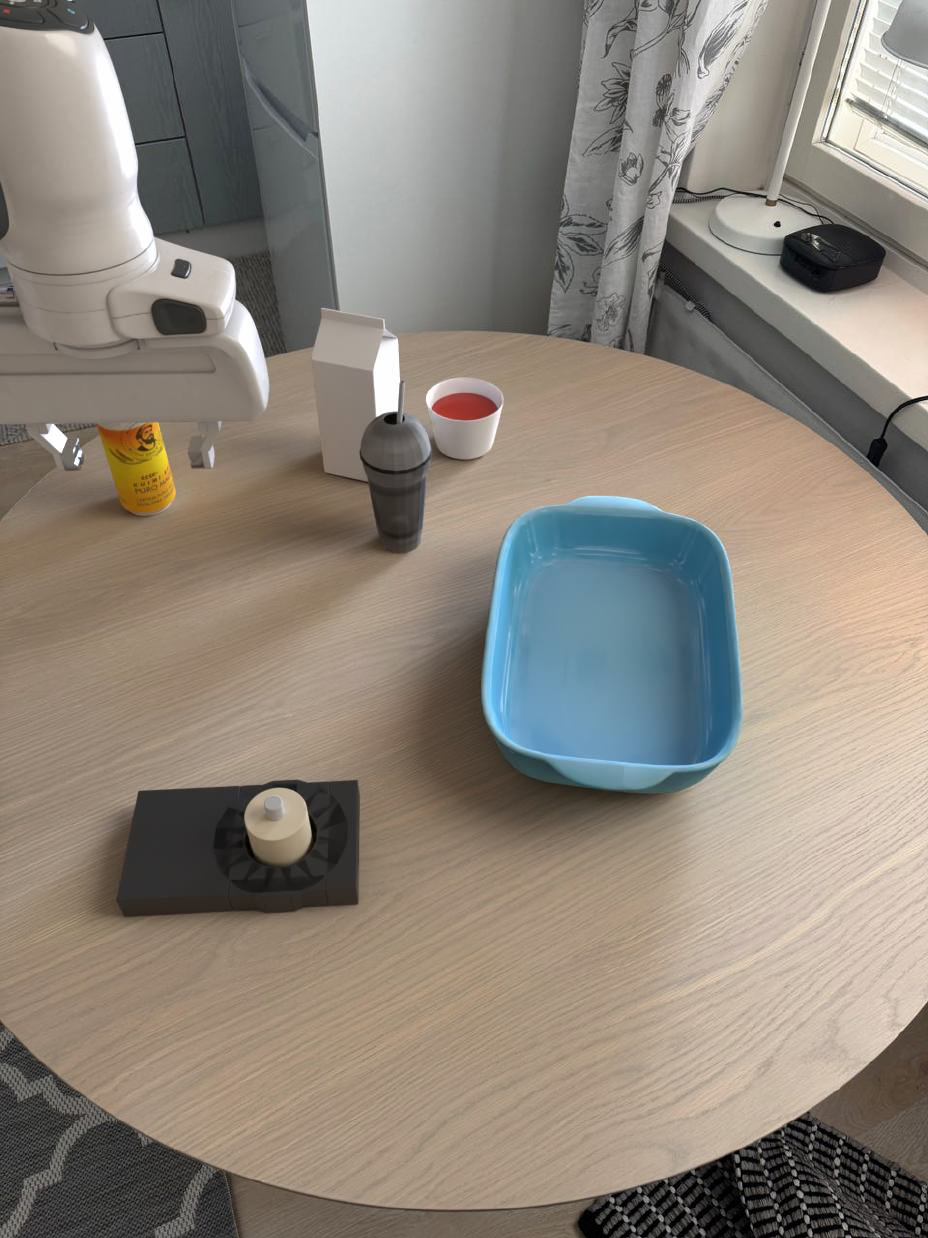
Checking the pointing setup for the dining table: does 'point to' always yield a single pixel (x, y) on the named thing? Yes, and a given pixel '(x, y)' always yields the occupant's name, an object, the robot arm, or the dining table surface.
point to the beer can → (138, 466)
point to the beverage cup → (397, 475)
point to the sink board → (236, 852)
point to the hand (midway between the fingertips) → (138, 465)
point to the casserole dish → (612, 647)
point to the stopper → (278, 827)
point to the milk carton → (352, 385)
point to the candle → (464, 416)
